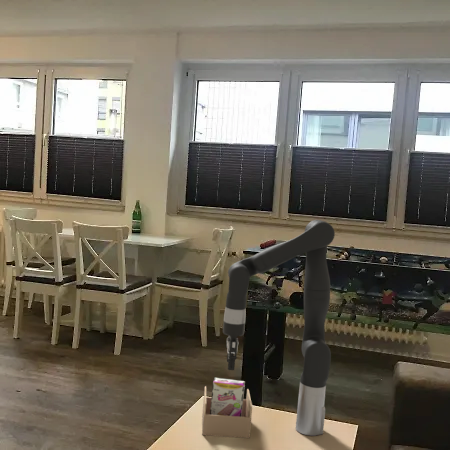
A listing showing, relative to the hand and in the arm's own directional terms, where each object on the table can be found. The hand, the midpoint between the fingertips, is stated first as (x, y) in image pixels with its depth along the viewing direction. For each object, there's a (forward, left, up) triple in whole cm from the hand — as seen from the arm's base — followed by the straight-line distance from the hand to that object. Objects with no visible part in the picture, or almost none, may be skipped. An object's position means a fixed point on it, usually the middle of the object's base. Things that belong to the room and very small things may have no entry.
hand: (230, 365), depth 199 cm
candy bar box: (0, 0, -22) cm, 22 cm away
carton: (0, 0, -22) cm, 22 cm away
